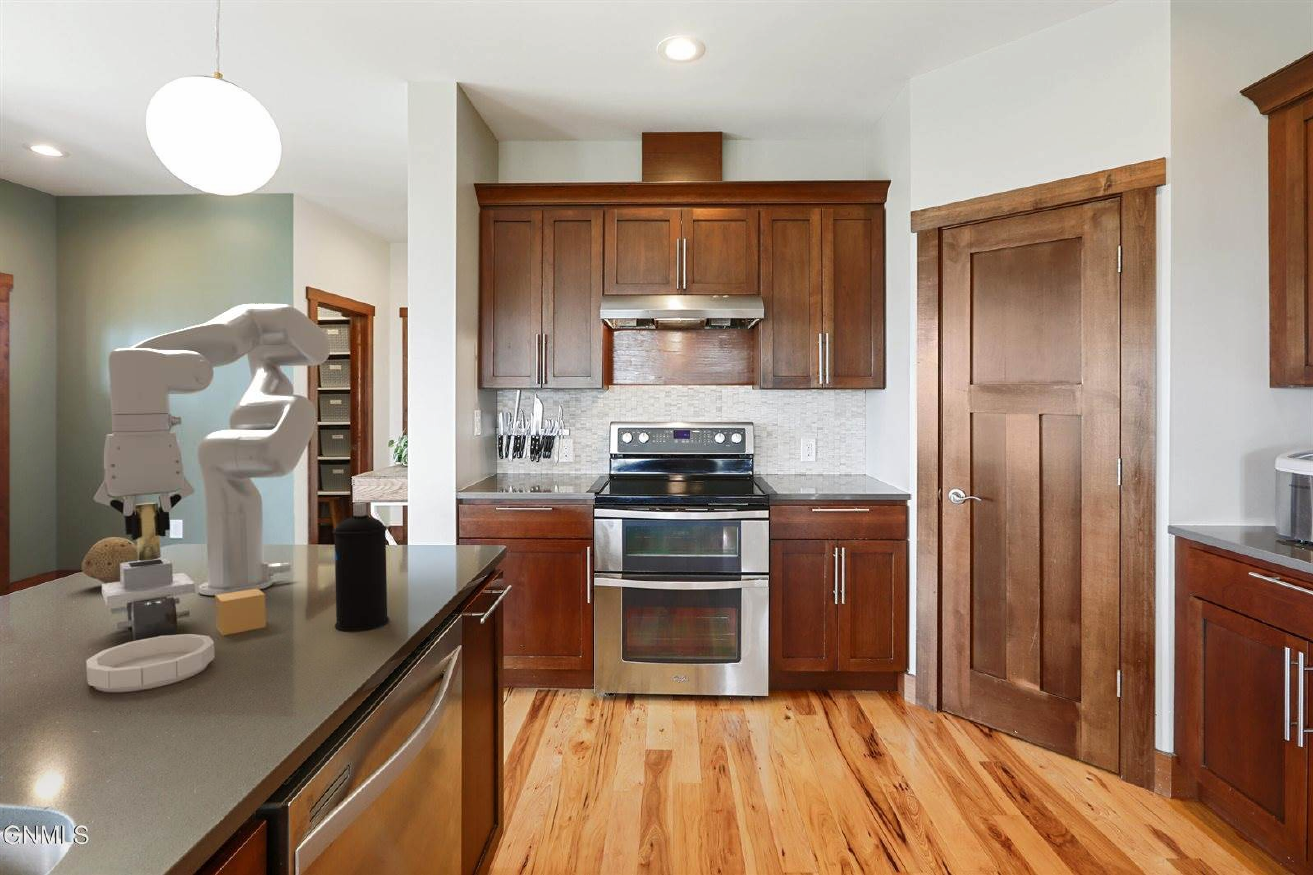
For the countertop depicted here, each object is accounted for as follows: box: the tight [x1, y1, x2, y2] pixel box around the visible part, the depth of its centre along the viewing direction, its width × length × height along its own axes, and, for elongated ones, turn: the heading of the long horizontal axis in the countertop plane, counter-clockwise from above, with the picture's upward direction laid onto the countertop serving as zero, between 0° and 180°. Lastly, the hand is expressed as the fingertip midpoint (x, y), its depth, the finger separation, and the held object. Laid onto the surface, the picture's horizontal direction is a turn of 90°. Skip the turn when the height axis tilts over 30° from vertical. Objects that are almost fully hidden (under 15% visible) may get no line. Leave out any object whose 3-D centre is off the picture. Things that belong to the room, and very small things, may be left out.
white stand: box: [101, 557, 196, 641], centre depth 107 cm, size 11×16×10 cm
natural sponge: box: [81, 536, 139, 584], centre depth 135 cm, size 9×9×10 cm
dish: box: [85, 633, 215, 693], centre depth 90 cm, size 13×13×3 cm
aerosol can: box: [332, 502, 390, 632], centre depth 110 cm, size 8×8×20 cm
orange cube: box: [214, 588, 267, 636], centre depth 109 cm, size 6×5×6 cm
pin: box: [134, 502, 162, 561], centre depth 109 cm, size 3×3×9 cm
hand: (148, 535), depth 109 cm, fingers closed on pin, 3 cm apart
